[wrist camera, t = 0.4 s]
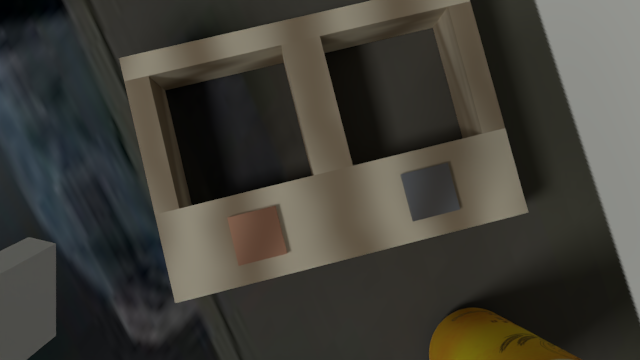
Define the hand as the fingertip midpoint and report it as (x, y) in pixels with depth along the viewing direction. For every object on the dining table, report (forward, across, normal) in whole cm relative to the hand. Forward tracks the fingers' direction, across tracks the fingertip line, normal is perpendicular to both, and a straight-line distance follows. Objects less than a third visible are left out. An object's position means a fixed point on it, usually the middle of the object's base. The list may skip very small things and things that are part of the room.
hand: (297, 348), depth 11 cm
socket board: (+22, +3, 0) cm, 22 cm away
